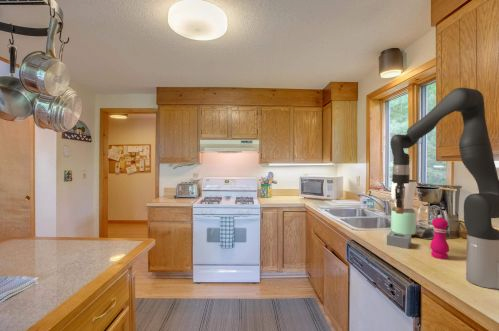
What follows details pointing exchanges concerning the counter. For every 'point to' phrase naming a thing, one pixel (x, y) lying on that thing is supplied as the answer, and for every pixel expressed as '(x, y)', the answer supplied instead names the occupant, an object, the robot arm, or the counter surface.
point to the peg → (400, 210)
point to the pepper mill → (439, 238)
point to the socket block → (399, 240)
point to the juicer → (408, 219)
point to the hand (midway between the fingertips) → (399, 206)
